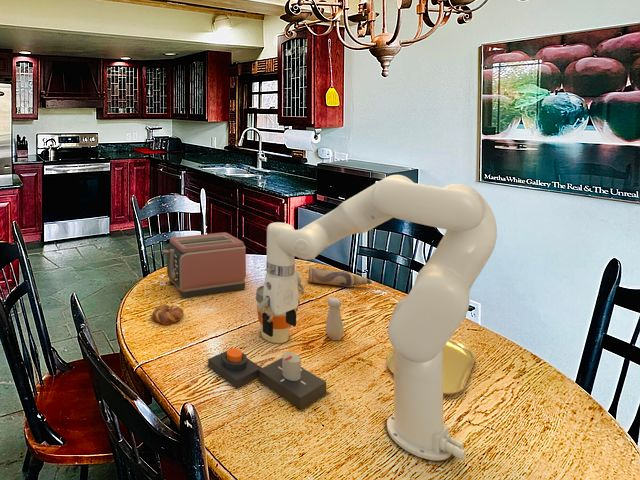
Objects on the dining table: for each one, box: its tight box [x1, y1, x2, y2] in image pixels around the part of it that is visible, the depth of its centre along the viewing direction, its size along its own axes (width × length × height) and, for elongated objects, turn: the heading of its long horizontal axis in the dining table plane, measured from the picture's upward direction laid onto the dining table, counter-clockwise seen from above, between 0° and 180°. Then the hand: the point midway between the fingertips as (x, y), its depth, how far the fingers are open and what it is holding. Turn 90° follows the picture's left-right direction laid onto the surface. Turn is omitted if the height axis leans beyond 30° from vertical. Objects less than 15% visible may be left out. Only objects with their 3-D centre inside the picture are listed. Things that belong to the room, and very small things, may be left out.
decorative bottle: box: [308, 266, 372, 289], centre depth 177 cm, size 26×8×7 cm, turn 71°
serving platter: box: [385, 338, 476, 396], centre depth 119 cm, size 19×35×2 cm, turn 134°
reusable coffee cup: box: [255, 284, 292, 344], centre depth 135 cm, size 13×13×15 cm
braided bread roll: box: [151, 304, 184, 326], centre depth 148 cm, size 12×11×4 cm
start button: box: [226, 347, 243, 362], centre depth 116 cm, size 4×4×2 cm
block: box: [207, 350, 262, 389], centre depth 116 cm, size 12×10×4 cm
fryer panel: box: [258, 357, 327, 410], centre depth 109 cm, size 14×11×3 cm
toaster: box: [162, 231, 247, 299], centre depth 177 cm, size 19×36×21 cm, turn 107°
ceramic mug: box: [295, 270, 305, 295], centre depth 172 cm, size 11×8×8 cm
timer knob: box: [281, 351, 302, 381], centre depth 109 cm, size 5×5×5 cm
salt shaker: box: [324, 296, 345, 341], centre depth 134 cm, size 6×6×13 cm
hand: (279, 329), depth 111 cm, fingers open, 9 cm apart
